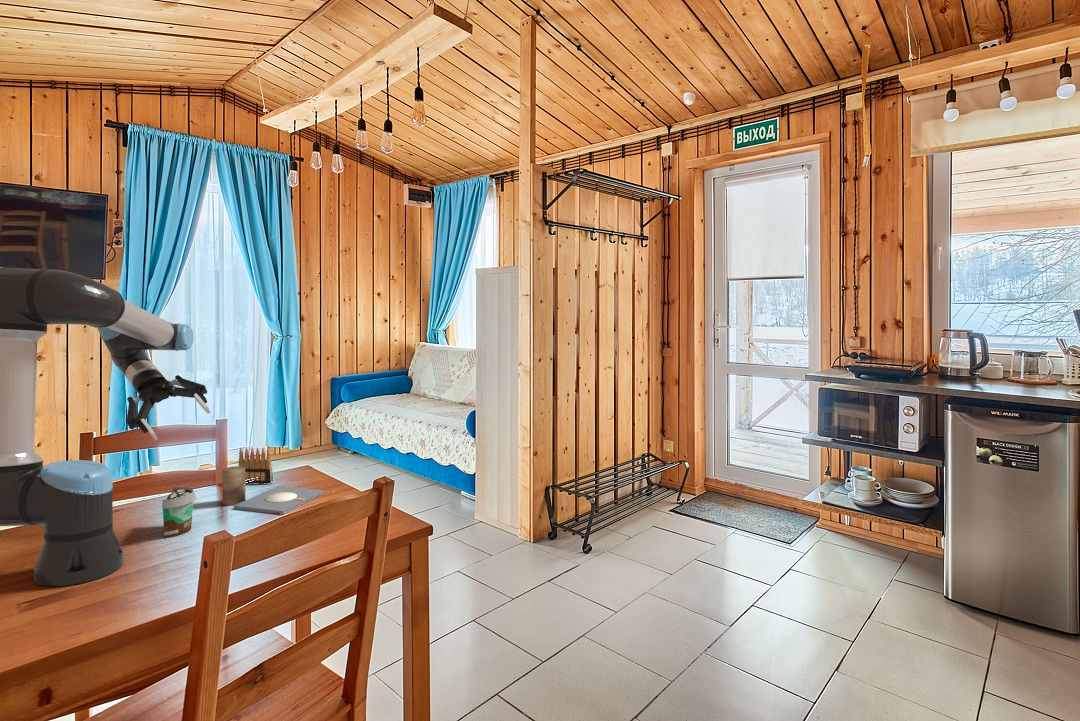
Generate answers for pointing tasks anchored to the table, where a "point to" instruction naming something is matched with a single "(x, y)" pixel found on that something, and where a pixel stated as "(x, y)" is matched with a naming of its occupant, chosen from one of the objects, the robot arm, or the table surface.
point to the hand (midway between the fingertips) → (182, 423)
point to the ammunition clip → (256, 466)
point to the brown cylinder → (233, 485)
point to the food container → (178, 511)
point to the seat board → (278, 499)
